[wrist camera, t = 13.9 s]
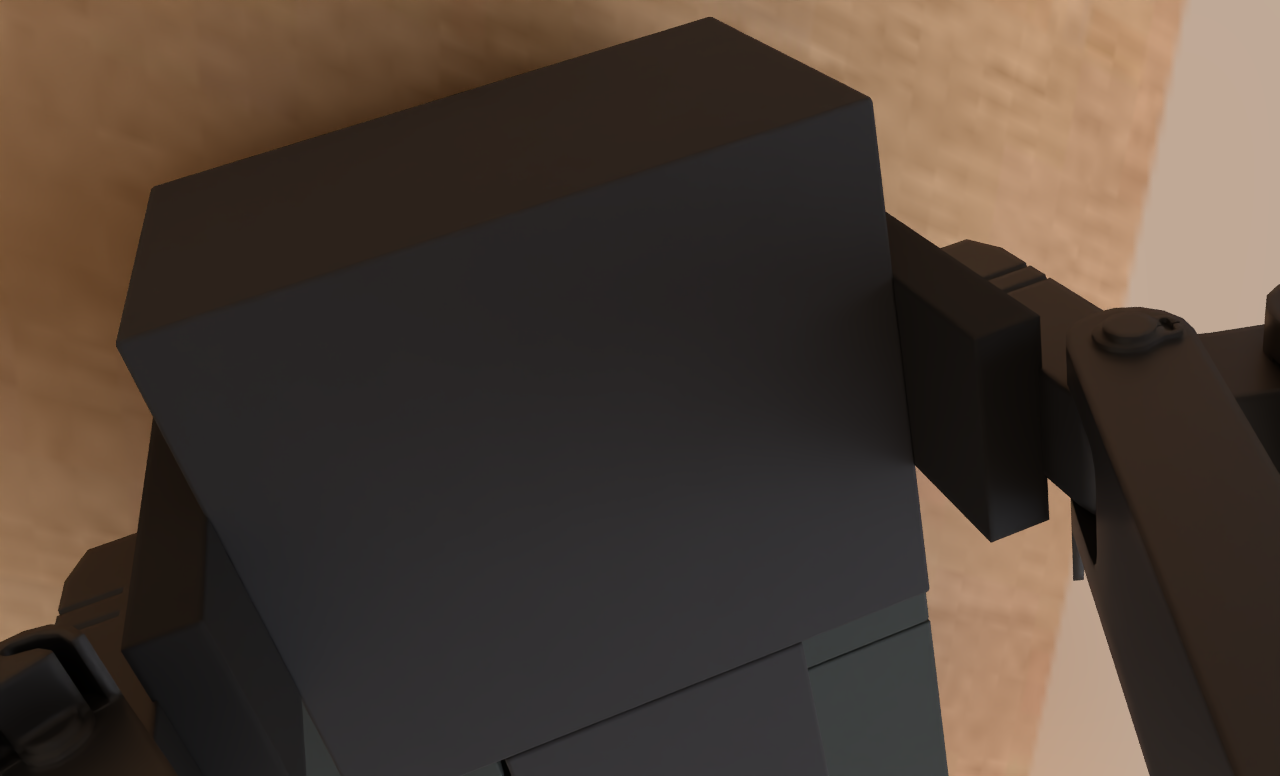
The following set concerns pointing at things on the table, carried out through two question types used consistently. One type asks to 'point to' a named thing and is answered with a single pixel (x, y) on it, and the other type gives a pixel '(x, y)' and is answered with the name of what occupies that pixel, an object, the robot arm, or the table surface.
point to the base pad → (838, 699)
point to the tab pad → (549, 409)
